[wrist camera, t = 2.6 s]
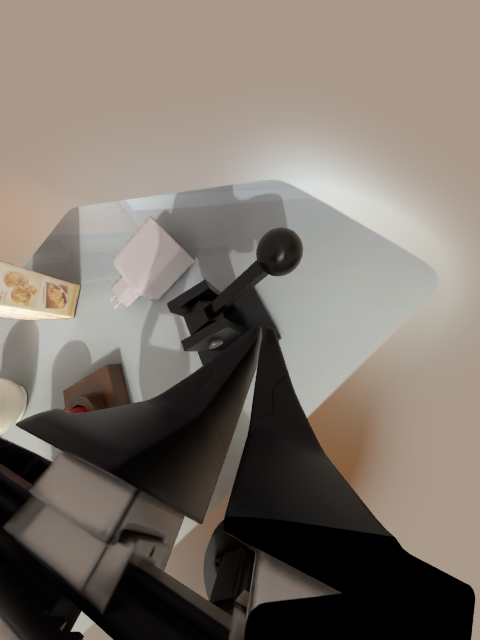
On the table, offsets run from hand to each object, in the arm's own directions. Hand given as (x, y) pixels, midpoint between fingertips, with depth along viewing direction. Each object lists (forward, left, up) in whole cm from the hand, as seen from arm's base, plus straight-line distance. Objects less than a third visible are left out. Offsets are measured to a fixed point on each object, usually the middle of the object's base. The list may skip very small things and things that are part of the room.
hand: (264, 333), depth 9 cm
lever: (+5, 0, -5) cm, 7 cm away
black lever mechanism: (+5, +5, -14) cm, 15 cm away
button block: (+3, +30, -14) cm, 33 cm away
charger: (+20, +14, -14) cm, 28 cm away
